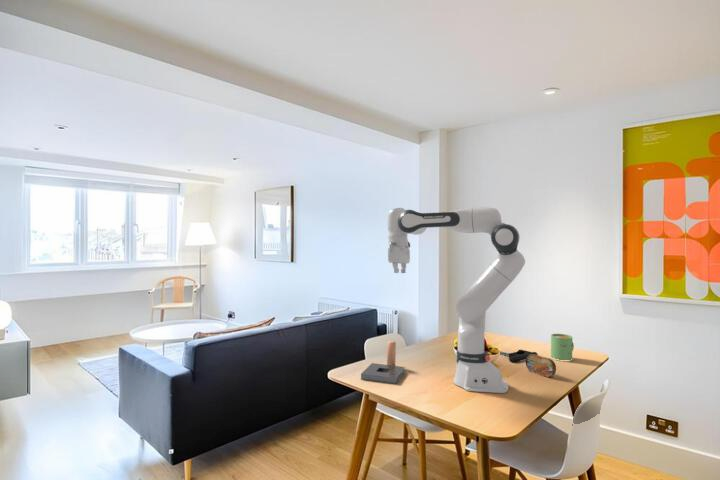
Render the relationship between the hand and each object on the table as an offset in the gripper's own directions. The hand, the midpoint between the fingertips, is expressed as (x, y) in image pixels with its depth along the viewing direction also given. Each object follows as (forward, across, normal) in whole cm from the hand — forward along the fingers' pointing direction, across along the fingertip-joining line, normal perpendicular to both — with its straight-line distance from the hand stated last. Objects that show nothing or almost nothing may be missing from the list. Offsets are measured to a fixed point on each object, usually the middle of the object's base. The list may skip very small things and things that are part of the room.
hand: (400, 273), depth 182 cm
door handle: (+48, +58, -42) cm, 86 cm away
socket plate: (+46, -2, +11) cm, 47 cm away
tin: (+51, +34, -54) cm, 81 cm away
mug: (+49, +66, -65) cm, 105 cm away
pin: (+45, +12, +12) cm, 48 cm away
